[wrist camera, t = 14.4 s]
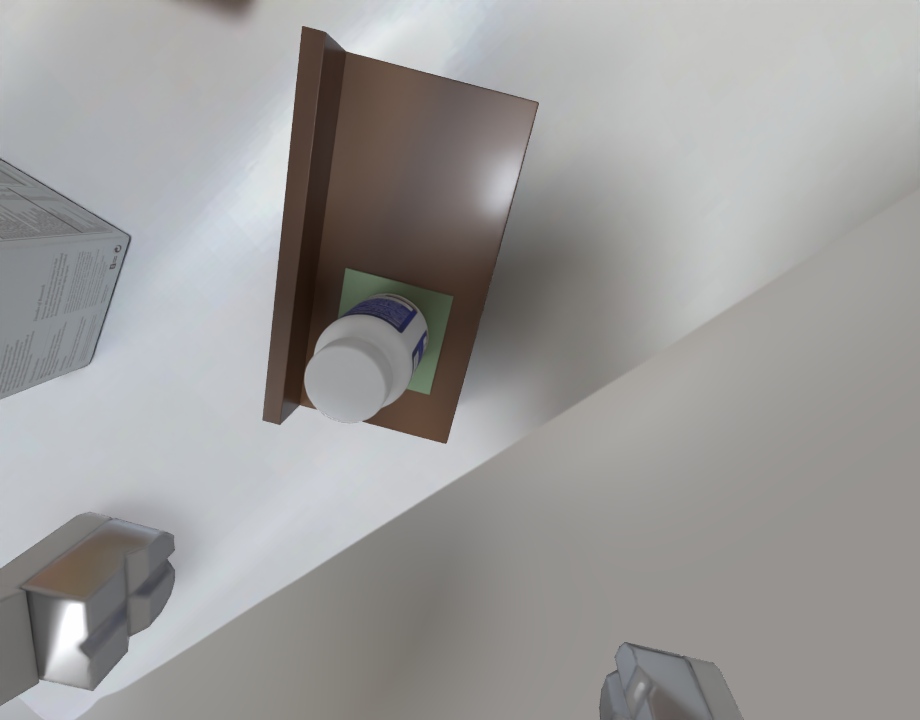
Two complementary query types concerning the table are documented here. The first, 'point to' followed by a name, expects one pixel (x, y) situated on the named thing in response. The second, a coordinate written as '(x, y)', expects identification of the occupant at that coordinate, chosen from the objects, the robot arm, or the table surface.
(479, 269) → the shelf
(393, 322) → the pill bottle
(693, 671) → the robot arm
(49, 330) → the supplement box
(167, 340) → the table surface
